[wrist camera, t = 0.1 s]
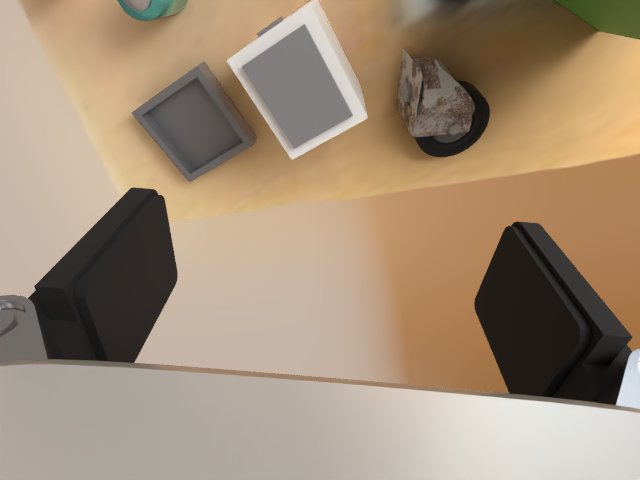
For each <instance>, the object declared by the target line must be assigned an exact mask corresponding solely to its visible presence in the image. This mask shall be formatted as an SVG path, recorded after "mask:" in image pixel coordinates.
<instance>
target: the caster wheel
mask: <svg viewBox="0 0 640 480" xmlns="http://www.w3.org/2000/svg"><path fill="white" fill-rule="evenodd" d="M396 107H397V109H398V111H399V113H400V115H401V117H402V119H403V121H404V122H405V124H406V126H407V128H408V131H409V133H410V134H411V135H412V136H414V138H415V140H416V141H417V143H418V145H419V146H420V148H421V149H422V150H423V151H424V152H425V153H427V154H429V155H431V156H435V157H448V156H452V155H456V154H458V153H461V152H462V151H464V150H466V149H468V148H469V147H470V146H472V145H473V144H474V143H475V142H476V141H477V140H478V139H479V138H480V137H481V135H482V134H483V132H484V131H485V129H486V127H487V124H488V120H489V114H490V110H489V105H488V103H487V101H486V99H485V98H484V97H483V96H482V95H481V93H480V92H479V91H478V90H477V89H476V88H475V87H474V86H473V85H471V84H469V83H467V82H463V81H455V80H454V79H453V77H452V76H451V74H450V72H449V71H448V69H447V68H446V67H445V66H444V65H443V64H442V63H441V62H440V61H439V60H437V59H436V58H434V57H433V56H431V57H419V58H413V59H412V58H411V57H410V56H409V54H408V53H407V52H406V50H405V49H403V52H402V61H401V69H400V78H399V86H398V94H397V103H396Z"/></svg>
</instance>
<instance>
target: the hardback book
mask: <svg viewBox="0 0 640 480" xmlns="http://www.w3.org/2000/svg"><path fill="white" fill-rule="evenodd" d="M555 1H556V2H558V3H559V4H561V5H562V6H563V7H565V8H566V9H568V10H569V11H571V12H572V13H574V14H575V15H577V16H578V17H580V18H581V19H582V20H584V21H585V22H587V23H588V24H590V25H591V26H593V27H594V28H596V29H597V30H599V31H602V32H606V33H611V34H616V35H621V36H625V37H630V38H635V39H640V0H555Z"/></svg>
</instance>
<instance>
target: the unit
mask: <svg viewBox="0 0 640 480" xmlns="http://www.w3.org/2000/svg"><path fill="white" fill-rule="evenodd" d="M257 35H258V37H257V38H255V39H254V40H253V41H251V42H250V43H249V44H247V45H246V46H245V47H243V48H242V49H241V50H239V51H238V52H237V53H235V54H234V55H233V56H231V57H230V58H229V59H227V60H226V61H227V63H228V64H229V66H230V67H231V69H232V70H233V72H234V73H235V75H236V76H237V78H238V79H239V81H240V82H241V84H242V85H243V87H244V88H245V90H246V91H247V93H248V94H249V96H250V98H251V99H252V101H253V102H254V104H255V105H256V107H257V108H258V110H259V111H260V113H261V114H262V116H263V117H264V119H265V120H266V122H267V123H268V125H269V126H270V128H271V129H272V131H273V133H274V134H275V136H276V137H277V139H278V140H279V142H280V143H281V145H282V146H283V148H284V149H285V151H286V152H287V154H288V155H289V157H290V158H291V160H293V159H295V158H297V157H298V156H300V155H302V154H304V153H306V152H307V151H309V150H311V149H313V148H315V147H317V146H318V145H320V144H322V143H324V142H326V141H327V140H329V139H331V138H333V137H335V136H337V135H338V134H340V133H342V132H344V131H346V130H348V129H349V128H351V127H353V126H355V125H357V124H358V123H360V122H362V121H364V120H366V119H368V117H367V112H366V107H365V102H364V97H363V93H362V88H361V85H360V83H359V81H358V79H357V77H356V75H355V73H354V71H353V69H352V67H351V65H350V63H349V61H348V59H347V57H346V55H345V52H344V50H343V48H342V46H341V44H340V42H339V40H338V38H337V36H336V34H335V32H334V30H333V28H332V26H331V24H330V22H329V20H328V18H327V16H326V14H325V12H324V10H323V8H322V6H321V4H320V2H319V0H310V1H309V2H307V3H306V4H304V5H303V6H302V7H300V8H299V9H297V10H296V11H294V12H293V13H291V14H290V15H289V16H287V17H286V18H284V19H283V18H282V17H280V18H279V19H277V20H276V21H275V22H273V23H272V24H270V25H269V26H267V27H266V28H265V29H263V30H262V31H260V32H259V33H257Z"/></svg>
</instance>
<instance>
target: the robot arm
mask: <svg viewBox="0 0 640 480" xmlns="http://www.w3.org/2000/svg"><path fill="white" fill-rule="evenodd" d="M176 281H177V268H176V262H175V256H174V250H173V245H172V239H171V233H170V227H169V222H168V216H167V210H166V204H165V200H164V197H163V196H162V195H158V193H157V191H156V190H154V189H144V188H131V189H130V190H129V191H128V192H127V193H126V194H125V195H124V196H123V197H122V198H121V199H120V200H119V201H118V202H117V203H116V204H115V205H114V206H113V207H112V208H111V209H110V210H109V211H108V212H107V213H106V214H105V215H104V216H103V217H102V218H101V219H100V220H99V221H98V222H97V223H96V224H95V225H94V226H93V227H92V228H91V229H90V230H89V231H88V232H87V233H86V234H85V235H84V236H83V237H82V238H81V239H80V241H79V242H77V244H76V245H75V246H74V247H73V248H72V249H71V250H70V251H69V252H68V253H67V254H66V255H65V256H64V257H63V258H62V259H61V260H60V261H59V262H58V263H57V264H56V265H55V266H54V267H53V268H52V269H51V270H50V271H49V272H48V273H47V274H46V275H45V276H44V277H43V278H42V279H41V280H40V281H39V282H38V283H37V284H36V285H35V289H36V291H35V292H34V293H33V294H32V295H31V296H30V297H29V298H28V299H27V298H26V297H23V296H17V295H6V296H0V480H640V349H638V350H635V351H633V352H632V351H631V349H630V348H629V347H628V346H627V343H628V342H629V341H630V340H631V338H632V336H631V335H630V333H629V332H628V331H627V330H626V329H625V327H624V326H623V325H622V324H621V322H620V321H619V320H618V319H617V318H616V316H615V315H614V314H613V313H612V311H611V310H610V309H609V308H608V307H607V305H606V304H605V303H604V302H603V300H602V299H601V298H600V297H599V296H598V294H597V293H596V292H595V291H594V290H593V288H592V287H591V286H590V285H589V284H588V282H587V281H586V280H585V279H584V277H583V276H582V275H581V274H580V272H578V270H577V269H576V268H575V266H574V265H573V264H572V263H571V261H570V260H569V259H568V258H567V257H566V255H565V254H564V253H563V252H562V250H561V249H560V248H559V247H558V246H557V244H556V243H555V242H554V241H553V240H552V238H551V237H550V236H549V235H548V233H547V232H546V231H545V230H544V228H543V227H542V226H541V225H540V224H538V223H528V222H514V223H513V224H512V225H511V226H508V227H506V228H505V230H504V232H503V234H502V236H501V239H500V241H499V243H498V246H497V248H496V251H495V253H494V255H493V258H492V260H491V262H490V265H489V267H488V269H487V272H486V274H485V276H484V279H483V281H482V284H481V286H480V289H479V291H478V293H477V295H476V298H475V310H476V313H477V316H478V318H479V321H480V323H481V325H482V328H483V330H484V333H485V335H486V338H487V340H488V342H489V345H490V347H491V350H492V352H493V355H494V357H495V359H496V362H497V364H498V367H499V369H500V372H501V374H502V376H503V379H504V381H505V383H506V386H507V388H508V391H509V393H499V392H487V391H476V390H465V389H454V388H442V387H430V386H420V385H408V384H396V383H383V382H372V381H360V380H348V379H336V378H323V377H312V376H300V375H287V374H275V373H261V372H248V371H236V370H222V369H210V368H197V367H185V366H170V365H157V364H141V363H134V362H135V360H136V358H137V356H138V354H139V352H140V351H141V349H142V347H143V345H144V343H145V341H146V339H147V337H148V335H149V334H150V332H151V330H152V328H153V326H154V324H155V322H156V320H157V319H158V317H159V315H160V313H161V311H162V309H163V307H164V305H165V304H166V302H167V300H168V298H169V296H170V294H171V292H172V290H173V288H174V287H175V284H176Z"/></svg>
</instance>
